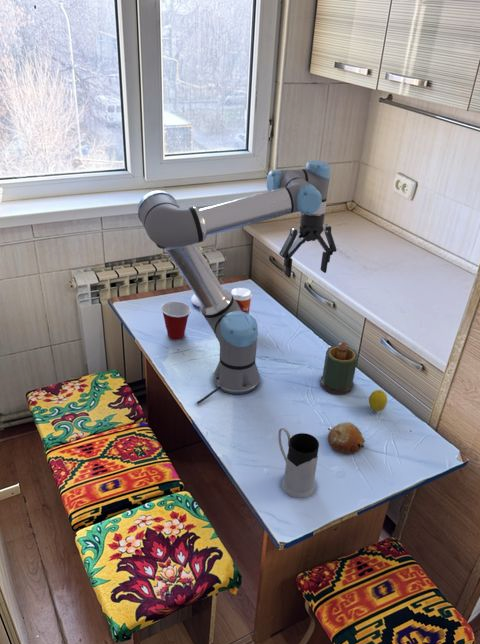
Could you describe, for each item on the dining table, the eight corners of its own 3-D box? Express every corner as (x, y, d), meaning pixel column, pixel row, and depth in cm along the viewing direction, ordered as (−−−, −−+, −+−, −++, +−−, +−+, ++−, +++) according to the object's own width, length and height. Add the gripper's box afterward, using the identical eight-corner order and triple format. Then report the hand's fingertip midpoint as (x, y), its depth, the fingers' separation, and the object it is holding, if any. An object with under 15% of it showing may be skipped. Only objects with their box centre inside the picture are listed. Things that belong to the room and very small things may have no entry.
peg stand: (348, 398, 182) (356, 355, 173) (316, 389, 185) (322, 346, 176) (356, 380, 191) (364, 338, 182) (325, 371, 194) (331, 330, 185)
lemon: (371, 417, 175) (375, 397, 171) (364, 406, 179) (368, 386, 175) (387, 415, 176) (392, 395, 172) (379, 404, 181) (384, 384, 176)
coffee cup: (247, 333, 212) (249, 298, 204) (226, 330, 213) (227, 295, 205) (252, 322, 219) (254, 288, 211) (231, 319, 220) (233, 285, 212)
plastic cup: (187, 345, 202) (186, 316, 196) (158, 341, 203) (156, 312, 197) (194, 330, 211) (194, 302, 205) (167, 326, 212) (166, 298, 206)
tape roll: (348, 393, 182) (353, 365, 176) (318, 385, 185) (323, 357, 179) (355, 377, 190) (360, 349, 184) (327, 369, 193) (331, 342, 187)
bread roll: (343, 438, 171) (337, 415, 169) (372, 442, 164) (366, 418, 162) (325, 455, 164) (319, 431, 162) (355, 459, 157) (348, 434, 155)
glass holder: (295, 502, 144) (301, 460, 136) (263, 468, 153) (267, 427, 145) (321, 488, 149) (328, 446, 140) (288, 456, 158) (293, 415, 150)
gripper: (340, 205, 185) (332, 264, 196) (272, 211, 175) (267, 273, 187) (352, 213, 179) (343, 273, 191) (282, 219, 170) (277, 282, 181)
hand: (305, 273), depth 189 cm, fingers open, 13 cm apart
